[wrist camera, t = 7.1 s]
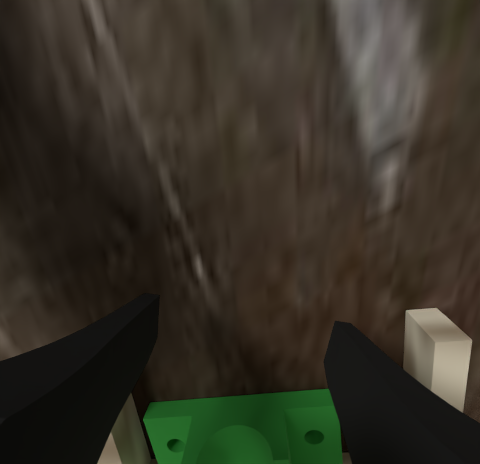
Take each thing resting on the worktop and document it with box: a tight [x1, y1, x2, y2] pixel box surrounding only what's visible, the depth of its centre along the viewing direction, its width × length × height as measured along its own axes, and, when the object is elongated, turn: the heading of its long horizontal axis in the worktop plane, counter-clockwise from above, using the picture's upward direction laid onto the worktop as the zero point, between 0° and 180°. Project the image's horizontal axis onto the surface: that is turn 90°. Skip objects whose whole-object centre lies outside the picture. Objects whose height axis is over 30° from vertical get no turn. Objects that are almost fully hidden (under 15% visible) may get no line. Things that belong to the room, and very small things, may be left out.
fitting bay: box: [97, 308, 472, 464], centre depth 16 cm, size 12×20×2 cm, turn 97°
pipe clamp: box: [143, 389, 343, 464], centre depth 16 cm, size 11×4×5 cm
